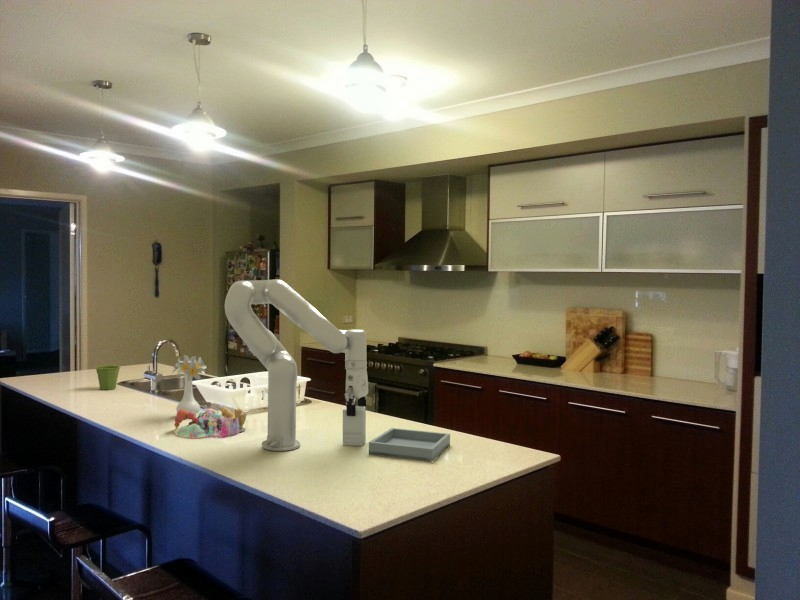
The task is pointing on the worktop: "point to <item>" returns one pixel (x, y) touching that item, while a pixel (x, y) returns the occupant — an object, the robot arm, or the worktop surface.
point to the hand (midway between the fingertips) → (356, 413)
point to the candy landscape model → (210, 423)
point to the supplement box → (354, 427)
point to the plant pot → (107, 376)
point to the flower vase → (189, 382)
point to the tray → (409, 444)
